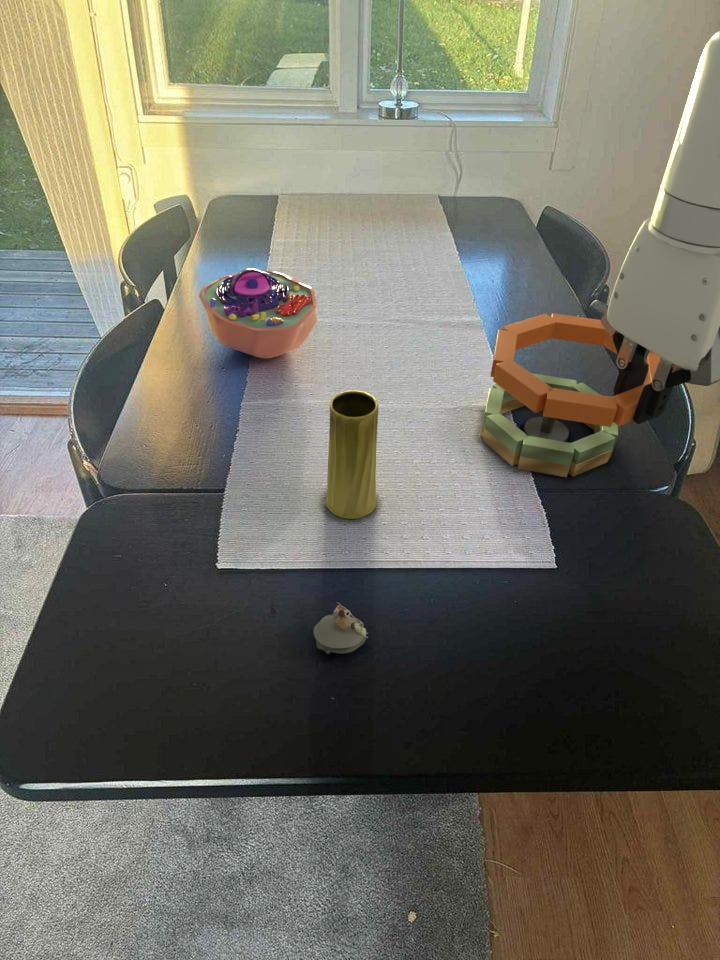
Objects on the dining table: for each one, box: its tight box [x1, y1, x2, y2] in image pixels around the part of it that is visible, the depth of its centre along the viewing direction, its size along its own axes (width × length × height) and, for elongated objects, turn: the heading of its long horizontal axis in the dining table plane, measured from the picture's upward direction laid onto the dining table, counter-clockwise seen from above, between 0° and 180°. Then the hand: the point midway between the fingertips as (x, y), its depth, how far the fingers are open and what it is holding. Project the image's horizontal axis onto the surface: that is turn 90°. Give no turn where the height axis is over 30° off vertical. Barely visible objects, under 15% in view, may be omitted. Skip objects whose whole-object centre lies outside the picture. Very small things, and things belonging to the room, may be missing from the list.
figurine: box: [313, 602, 369, 655], centre depth 66 cm, size 5×4×6 cm
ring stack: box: [480, 372, 619, 478], centre depth 93 cm, size 17×17×7 cm
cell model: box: [198, 267, 318, 360], centre depth 107 cm, size 17×20×11 cm
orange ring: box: [490, 313, 660, 427], centre depth 70 cm, size 17×17×2 cm
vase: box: [325, 390, 379, 520], centre depth 79 cm, size 6×6×14 cm
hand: (634, 409), depth 66 cm, fingers closed on orange ring, 2 cm apart
